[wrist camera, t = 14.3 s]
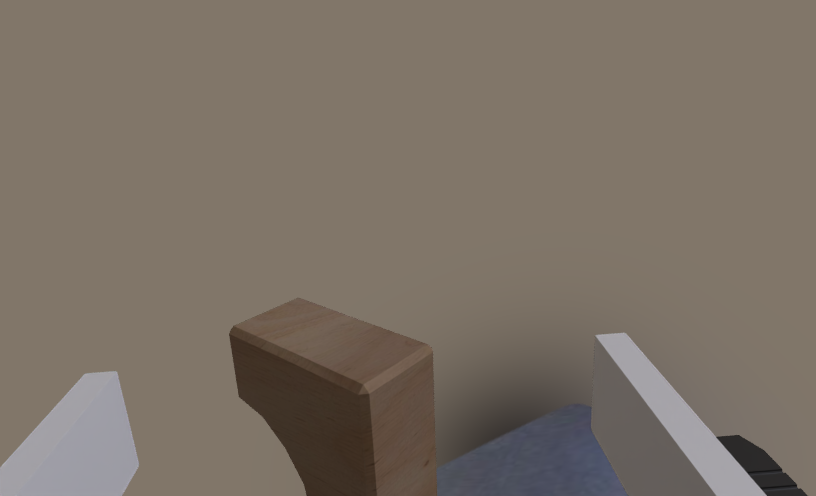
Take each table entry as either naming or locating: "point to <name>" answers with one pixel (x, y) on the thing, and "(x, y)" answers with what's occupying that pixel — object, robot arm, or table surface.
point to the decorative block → (341, 399)
